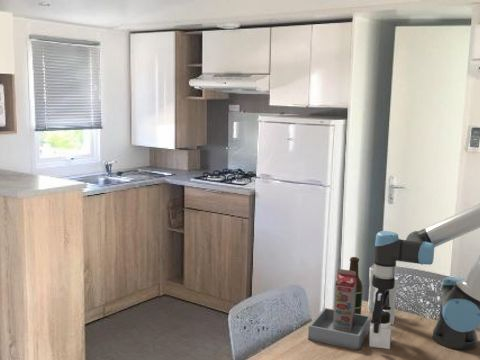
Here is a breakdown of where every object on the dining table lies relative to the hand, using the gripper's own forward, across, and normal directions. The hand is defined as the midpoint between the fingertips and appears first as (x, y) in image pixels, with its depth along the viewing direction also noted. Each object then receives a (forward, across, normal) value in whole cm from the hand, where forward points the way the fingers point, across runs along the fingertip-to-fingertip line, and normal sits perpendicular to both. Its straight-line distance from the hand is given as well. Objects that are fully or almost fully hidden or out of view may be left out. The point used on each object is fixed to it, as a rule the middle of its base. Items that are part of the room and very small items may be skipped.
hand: (379, 333), depth 193 cm
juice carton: (+3, -6, -14) cm, 16 cm away
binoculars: (+4, -27, -4) cm, 27 cm away
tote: (+4, -2, -14) cm, 15 cm away
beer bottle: (+4, -21, -15) cm, 26 cm away
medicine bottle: (+4, 0, 0) cm, 4 cm away
